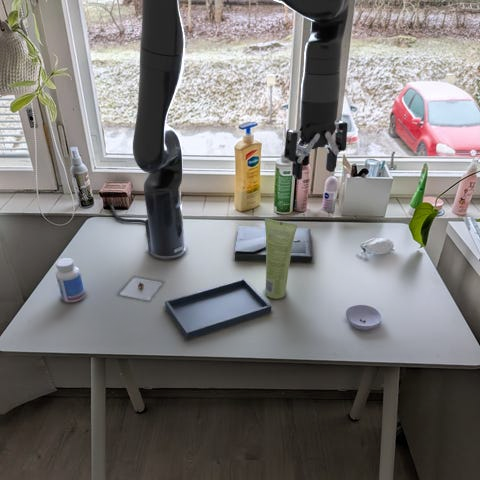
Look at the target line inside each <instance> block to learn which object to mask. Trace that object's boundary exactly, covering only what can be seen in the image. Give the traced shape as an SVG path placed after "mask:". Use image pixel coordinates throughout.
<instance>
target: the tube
mask: <svg viewBox="0 0 480 480" xmlns="http://www.w3.org/2000/svg"><path fill="white" fill-rule="evenodd" d="M264 227H265V228H266V261H265V264H266V265H265V295H266V296H267V297H268V298H270V299H282V298H283V297H285V295H286V293H287V284H288V277H289V270H290V264H291V262H290V257H291V252H292V246H293V241H294V236H295V232H296V229H297V228H298V224H296V223H291V222H285V221H280V220H275V219H271V218H264Z"/></svg>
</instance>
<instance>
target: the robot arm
mask: <svg viewBox="0 0 480 480" xmlns="http://www.w3.org/2000/svg"><path fill="white" fill-rule="evenodd" d="M273 1H274V2H277V3H280V4H283V5H284V6H285V7H288V8H289V9H290V10H292V11H293V12H295V13H296V14H299V15H300V16H301V17H303V18H305V19H308V21H309V20H310V23H311V25H310V34H309V37H308V39H307V41H306V43H305V47H304V57H303V72H302V73H303V75H302V80H301V87H300V88H301V91H300V108H299V109H300V110H299V120H300V126H299V128H298V129H294V130H292V129H290V128H289V129H287V130H286V132H285V143H284V153H283V154H284V155H283V157H284V159H286V160H288V161H289V162H291V163H292V166H291V168H292V170H291V174H292V177H294V178H295V179H296V180H298V181H299V180H302V179H303V166H304V163H303V160H304V159H305V158H306V156H307V155H309V154H310V152H311V150H316V149H318V148H326V151H328V152H327V154H326V163H325V170H326V171H328V172H330V173H333V172H335V169H336V168H337V163H338V155H339V154H340V152H344V151H346V149H347V142H348V141H347V139H348V123H347V121H344V120H341V119H338V109H339V100H340V88H341V65H342V54H343V40H344V36H345V31H346V27H347V22H348V17H349V9H350V3H351V1H350V0H273ZM184 31H185V30H184V27H183V22H182V17H181V14H180V9H179V0H142V3H141V31H140V45H139V79H138V92H137V93H138V95H137V96H138V98H137V111H136V119H135V124H134V125H135V126H134V130H133V138H132V154H133V158H134V161H135V164H136V165H137V166H138V168H139V169H140V170H142V171H143V172H145V173H147V174H148V175H147V177H146V178H145V181H144V183H143V192H144V193H143V194H144V201H145V210H146V217H147V218H146V219H138V218H123V217H121V216H119V215H118V214H117V212H116V210H115V207H114V204H113V205H110V204H109V206H110V210H111V212H112V214H113V216H114V218H115V219H117V220H118V221H120V222H125V223H142V224H144V225H145V234H146V241H147V242H146V243H147V250H148V253H150V254H151V256H153V257H154V258H156V259H158V260H162V261H163V260H164V261H167V260H169V261H170V260H176V259H178V258H181V257H183V256H184V254H185V253H186V245H185V230H184V215H183V204H182V191H181V186H182V183H183V179H184V167H183V164H184V162H183V161H184V160H183V146H182V142H181V139H180V137H179V134H178V132H176V130H175V129H173V128H172V127H170V126H169V125H167V124H166V123H167V117H168V114H169V112H170V108H171V106H172V104H173V101H174V99H175V96H176V93H177V92H178V89H179V86H180V83H181V81H182V76H183V72H184V64H185V52H186V51H185V50H186V48H185V47H186V39H185V38H186V37H185V32H184ZM334 133H335V134H334ZM333 135H335V137H334V138H335V139H334V138H333Z"/></svg>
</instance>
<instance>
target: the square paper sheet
mask: <svg viewBox="0 0 480 480" xmlns="http://www.w3.org/2000/svg"><path fill="white" fill-rule="evenodd" d="M162 285H163V282H161V281H155V280H152V279H151V280H150V279H145V278H139V277H133V278H131V280H130V281H129V283H128V284H126V286H125V287H124V288H123V289H122V291H120V292H119V294H118V295H120V296H124V297H129V298H135V299H139V300H145V301H150V300H151V298H152V297H153V296H154V295H155V294H156V292H157V291H158V289H159V288H161V286H162Z"/></svg>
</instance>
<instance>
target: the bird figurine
mask: <svg viewBox="0 0 480 480" xmlns="http://www.w3.org/2000/svg"><path fill="white" fill-rule="evenodd" d="M394 246H395V243H394V242H393V241H392V240H391V239H389V238H385V237H374V238H370V239H368V240H366V241H363V242H362V243H361V244H360V248H361V252H359V253H358V257H360V259H362V257H363V258H364V260H366V261H367V258H368V255H386V254H387V253H389V252H395V251H396V249H394Z"/></svg>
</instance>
